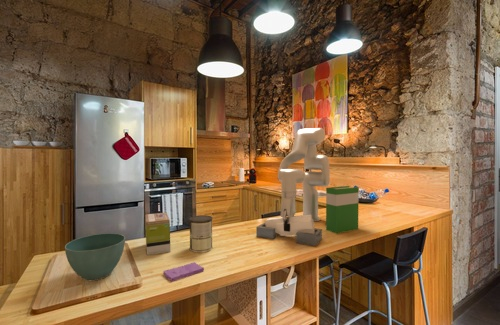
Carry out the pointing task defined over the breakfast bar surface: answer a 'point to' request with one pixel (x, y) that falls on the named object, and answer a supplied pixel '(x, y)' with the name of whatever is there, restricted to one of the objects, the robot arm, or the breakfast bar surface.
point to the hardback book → (342, 209)
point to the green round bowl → (95, 254)
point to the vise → (300, 236)
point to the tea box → (157, 233)
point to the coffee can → (200, 233)
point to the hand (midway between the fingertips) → (288, 229)
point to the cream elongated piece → (292, 225)
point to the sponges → (182, 271)
